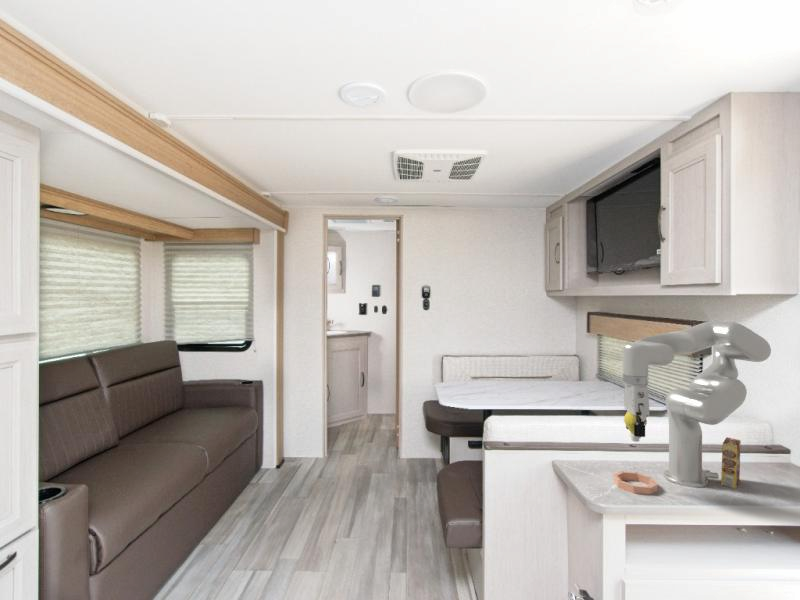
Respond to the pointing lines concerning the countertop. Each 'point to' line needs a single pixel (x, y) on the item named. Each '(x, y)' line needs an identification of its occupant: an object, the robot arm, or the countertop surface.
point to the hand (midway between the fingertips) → (635, 432)
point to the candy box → (730, 462)
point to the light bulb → (631, 425)
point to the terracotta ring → (635, 477)
